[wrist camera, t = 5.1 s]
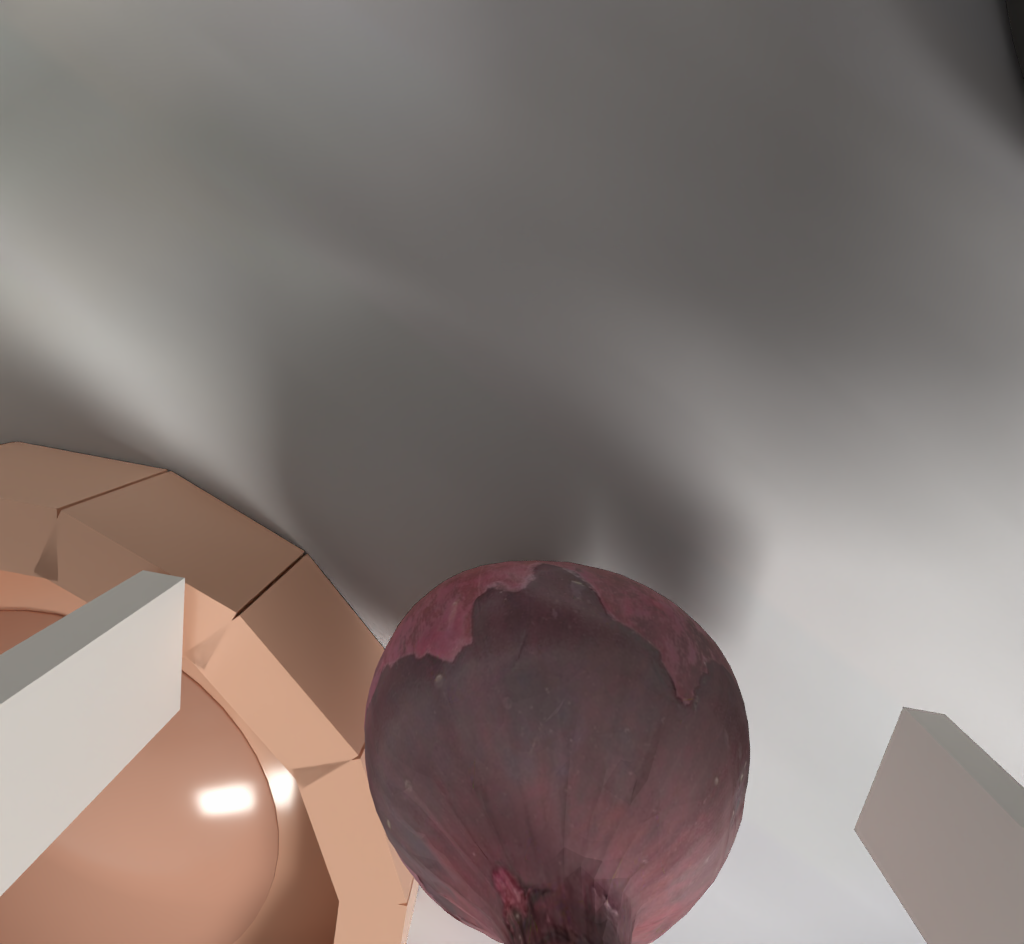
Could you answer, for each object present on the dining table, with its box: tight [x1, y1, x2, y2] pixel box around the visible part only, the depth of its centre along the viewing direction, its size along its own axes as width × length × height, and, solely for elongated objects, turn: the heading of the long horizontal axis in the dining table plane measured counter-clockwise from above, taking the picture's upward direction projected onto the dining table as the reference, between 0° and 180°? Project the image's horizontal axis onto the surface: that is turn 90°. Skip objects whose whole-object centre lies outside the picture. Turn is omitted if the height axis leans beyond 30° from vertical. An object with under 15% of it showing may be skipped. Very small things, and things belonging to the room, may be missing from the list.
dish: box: [0, 442, 419, 944], centre depth 14 cm, size 18×18×3 cm
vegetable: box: [364, 560, 750, 944], centre depth 8 cm, size 6×6×10 cm
